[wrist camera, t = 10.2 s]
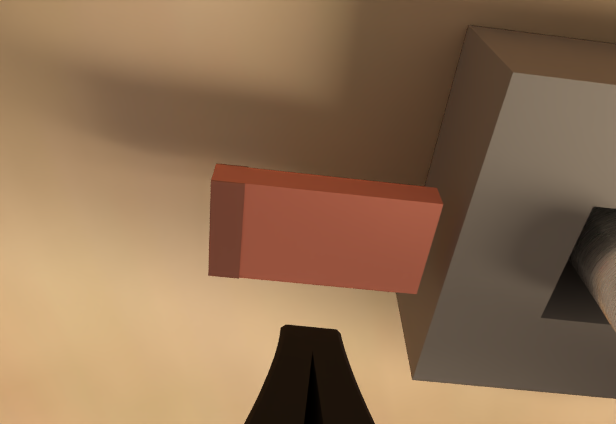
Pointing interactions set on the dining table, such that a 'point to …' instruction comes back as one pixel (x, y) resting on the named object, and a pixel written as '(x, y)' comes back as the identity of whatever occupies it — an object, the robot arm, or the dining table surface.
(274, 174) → the bar
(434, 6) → the dining table surface
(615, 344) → the pin block
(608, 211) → the pin
